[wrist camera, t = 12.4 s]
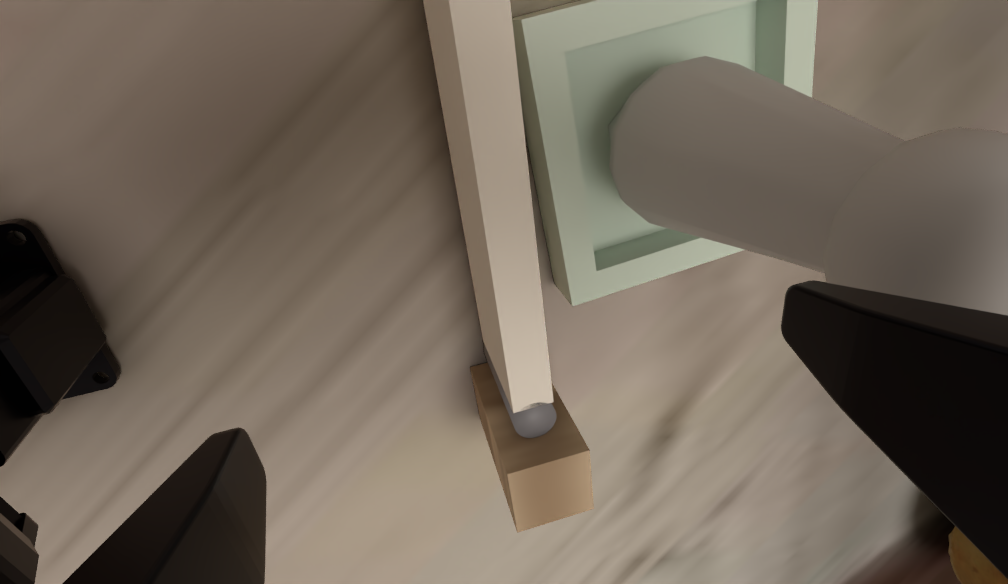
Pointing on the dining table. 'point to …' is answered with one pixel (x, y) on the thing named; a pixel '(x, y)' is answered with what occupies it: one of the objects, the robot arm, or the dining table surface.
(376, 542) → the dining table surface
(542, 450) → the gate post
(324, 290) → the dining table surface
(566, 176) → the tray
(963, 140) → the salt shaker
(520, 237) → the gate
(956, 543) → the brown ceramic vase
